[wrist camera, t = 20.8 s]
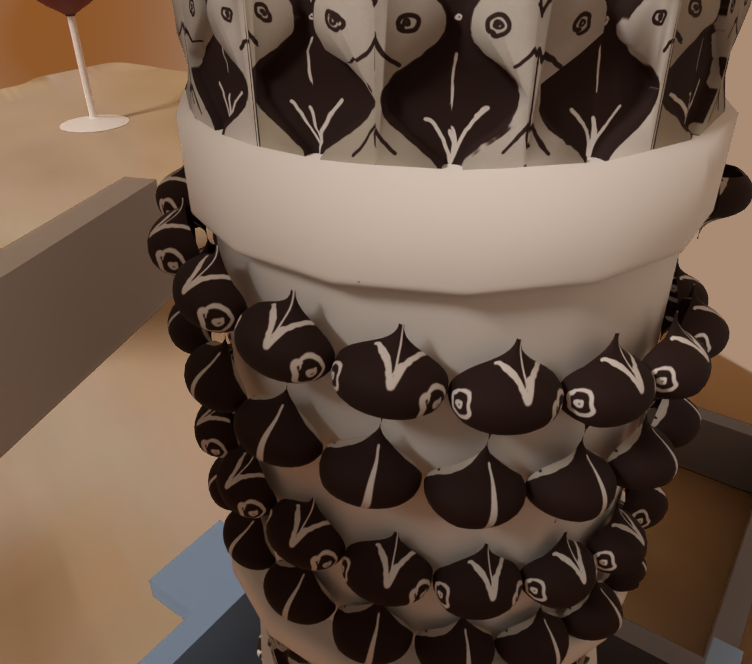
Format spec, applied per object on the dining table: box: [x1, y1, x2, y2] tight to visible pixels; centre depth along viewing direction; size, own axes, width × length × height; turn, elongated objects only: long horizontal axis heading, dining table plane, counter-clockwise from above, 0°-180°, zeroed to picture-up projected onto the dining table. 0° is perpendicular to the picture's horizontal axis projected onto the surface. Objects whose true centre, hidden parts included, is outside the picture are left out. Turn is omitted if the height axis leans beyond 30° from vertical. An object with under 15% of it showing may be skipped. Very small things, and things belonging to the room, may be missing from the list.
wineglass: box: [37, 0, 129, 133], centre depth 81 cm, size 9×10×22 cm
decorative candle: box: [147, 0, 752, 664], centre depth 14 cm, size 9×9×25 cm
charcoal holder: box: [596, 406, 752, 664], centre depth 29 cm, size 14×14×3 cm
